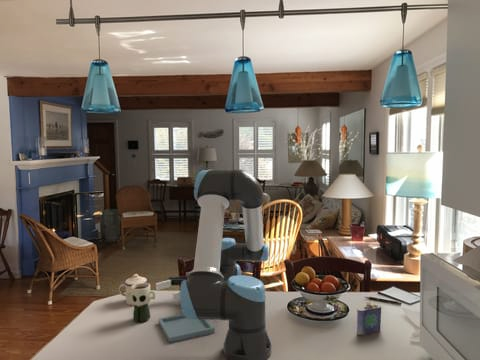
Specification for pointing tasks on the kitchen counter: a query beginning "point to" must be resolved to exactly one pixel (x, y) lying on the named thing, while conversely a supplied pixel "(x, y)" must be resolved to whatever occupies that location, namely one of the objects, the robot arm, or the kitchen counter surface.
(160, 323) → the tray
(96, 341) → the kitchen counter surface
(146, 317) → the character mug
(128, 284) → the teacup with lid
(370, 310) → the flask
